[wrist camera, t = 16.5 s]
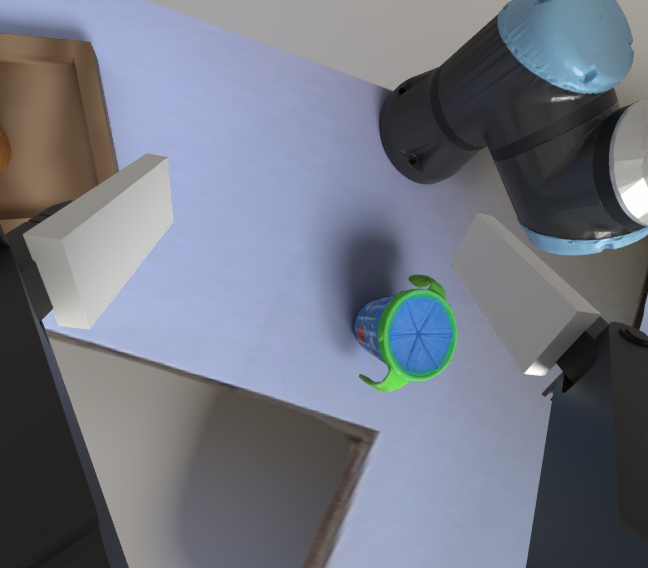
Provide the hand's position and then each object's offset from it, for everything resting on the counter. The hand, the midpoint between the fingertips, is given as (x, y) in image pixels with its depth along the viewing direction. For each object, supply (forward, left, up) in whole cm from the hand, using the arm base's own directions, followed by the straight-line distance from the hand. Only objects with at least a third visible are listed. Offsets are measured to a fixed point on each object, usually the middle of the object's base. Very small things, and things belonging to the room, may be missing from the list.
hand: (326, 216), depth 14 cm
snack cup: (-17, +12, -27) cm, 34 cm away
